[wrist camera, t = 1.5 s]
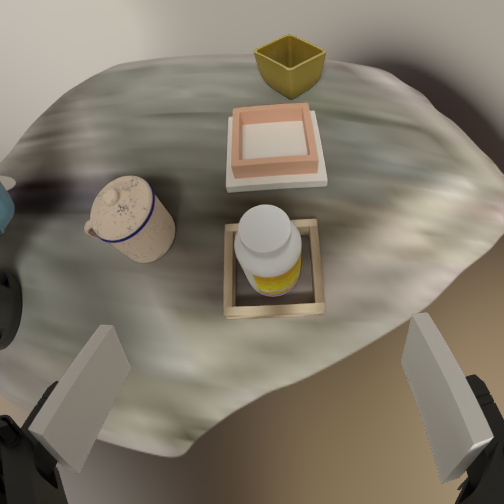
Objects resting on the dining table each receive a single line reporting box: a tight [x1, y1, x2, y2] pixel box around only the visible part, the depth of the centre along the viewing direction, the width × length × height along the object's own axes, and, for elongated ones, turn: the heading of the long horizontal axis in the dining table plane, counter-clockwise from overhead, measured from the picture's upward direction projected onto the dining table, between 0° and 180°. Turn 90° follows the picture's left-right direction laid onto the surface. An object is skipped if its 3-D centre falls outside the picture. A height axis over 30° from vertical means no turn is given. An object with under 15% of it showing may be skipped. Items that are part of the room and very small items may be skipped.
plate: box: [226, 103, 328, 193], centre depth 44 cm, size 14×14×4 cm
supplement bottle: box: [234, 205, 302, 297], centre depth 33 cm, size 7×7×13 cm
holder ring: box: [223, 219, 325, 319], centre depth 38 cm, size 12×12×2 cm
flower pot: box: [254, 34, 326, 99], centre depth 47 cm, size 9×9×9 cm
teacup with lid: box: [84, 176, 175, 263], centre depth 38 cm, size 12×9×12 cm
